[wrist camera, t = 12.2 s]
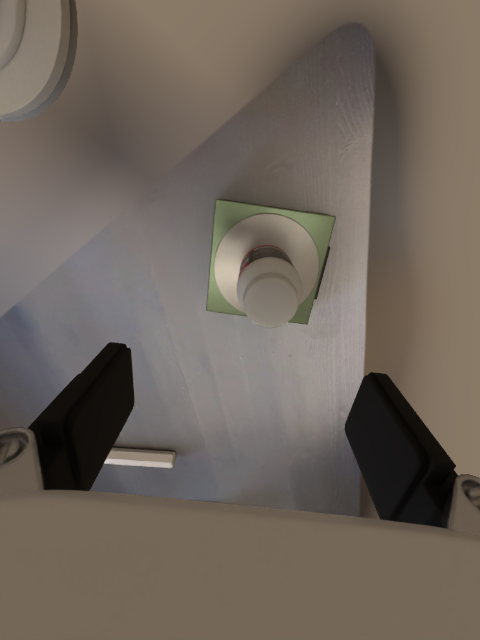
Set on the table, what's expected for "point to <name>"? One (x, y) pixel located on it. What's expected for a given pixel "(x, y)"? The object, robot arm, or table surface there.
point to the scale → (236, 211)
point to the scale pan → (258, 233)
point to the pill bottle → (268, 286)
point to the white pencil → (141, 457)
